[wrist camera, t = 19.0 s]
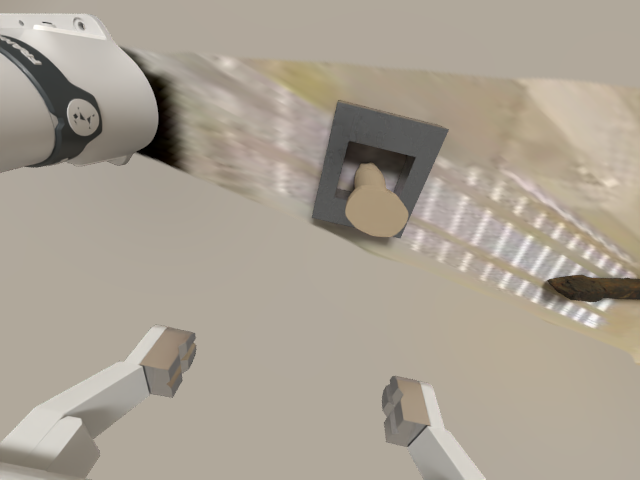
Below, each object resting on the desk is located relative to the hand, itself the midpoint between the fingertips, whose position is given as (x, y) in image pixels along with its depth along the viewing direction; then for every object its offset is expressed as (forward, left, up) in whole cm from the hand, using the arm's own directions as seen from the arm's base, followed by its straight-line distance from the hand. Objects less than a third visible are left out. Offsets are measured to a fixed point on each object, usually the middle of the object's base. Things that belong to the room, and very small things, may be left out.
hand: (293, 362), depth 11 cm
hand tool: (+51, -10, -34) cm, 62 cm away
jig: (+6, 0, -33) cm, 34 cm away
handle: (+5, -1, -33) cm, 34 cm away
